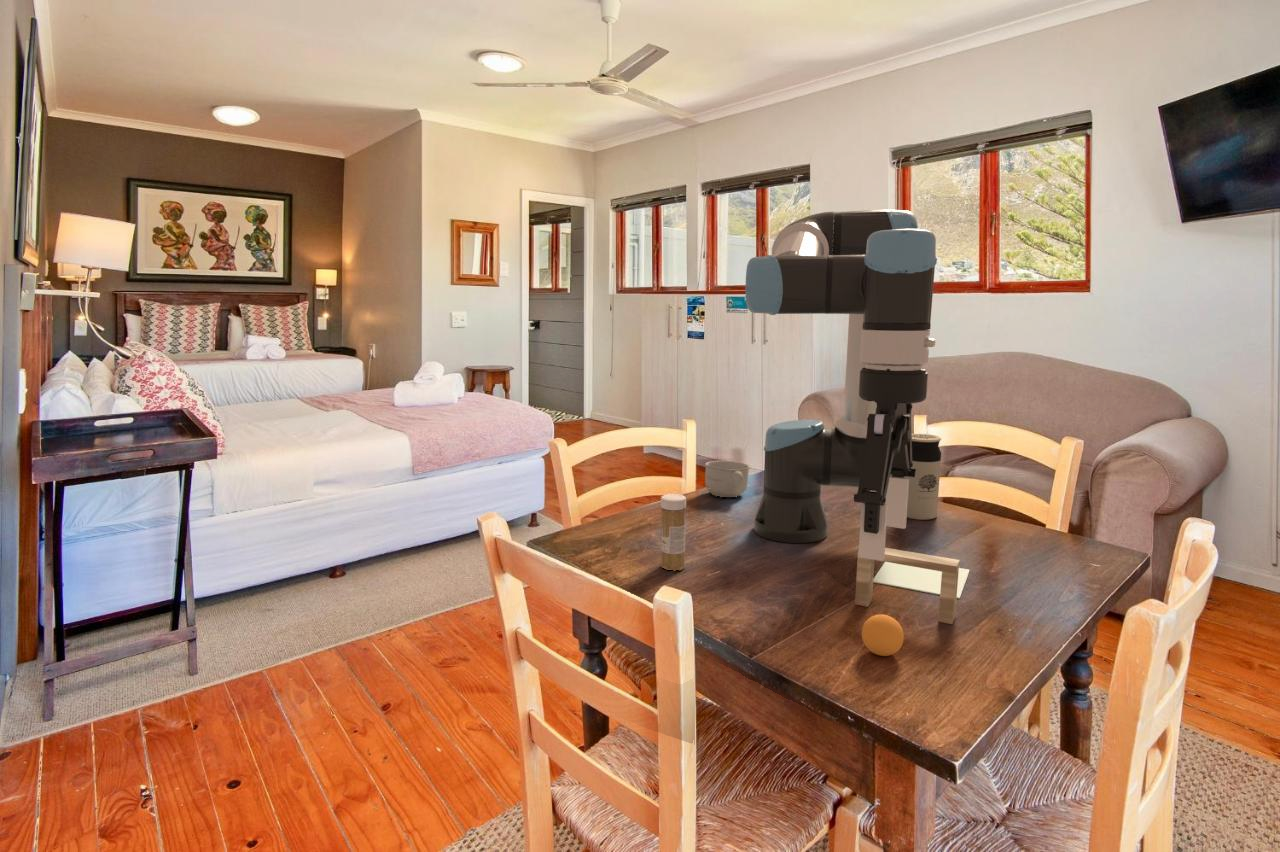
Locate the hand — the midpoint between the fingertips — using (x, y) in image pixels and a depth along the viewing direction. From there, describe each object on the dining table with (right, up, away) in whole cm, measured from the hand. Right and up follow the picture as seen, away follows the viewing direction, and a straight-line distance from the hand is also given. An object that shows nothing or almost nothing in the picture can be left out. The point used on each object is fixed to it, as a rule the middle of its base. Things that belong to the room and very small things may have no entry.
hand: (883, 541), depth 88 cm
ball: (+4, -15, +12) cm, 19 cm away
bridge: (+12, -15, +26) cm, 32 cm away
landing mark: (+20, -12, +40) cm, 46 cm away
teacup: (-8, -4, +90) cm, 90 cm away
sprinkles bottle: (-24, -12, +44) cm, 52 cm away
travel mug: (+33, -6, +74) cm, 82 cm away
